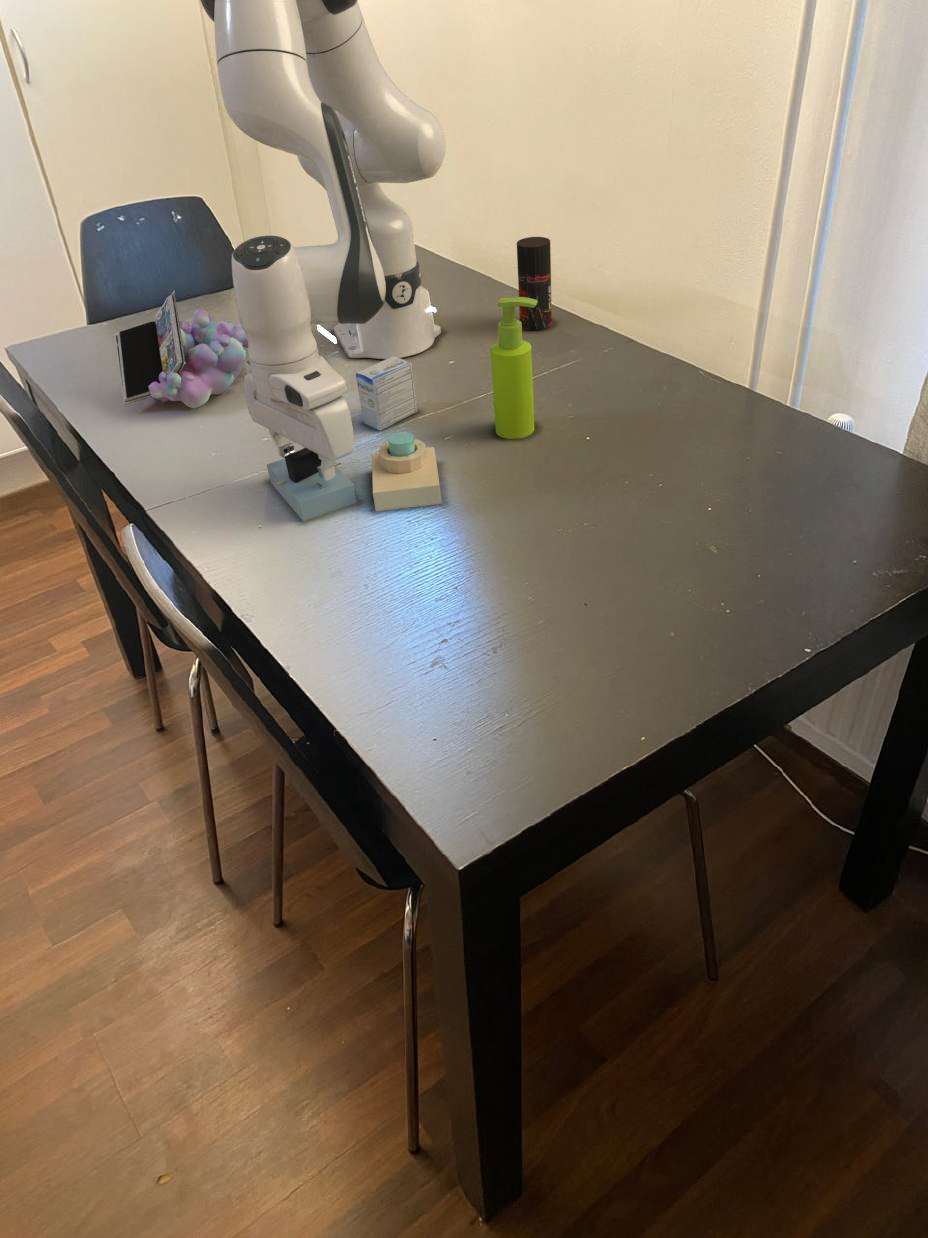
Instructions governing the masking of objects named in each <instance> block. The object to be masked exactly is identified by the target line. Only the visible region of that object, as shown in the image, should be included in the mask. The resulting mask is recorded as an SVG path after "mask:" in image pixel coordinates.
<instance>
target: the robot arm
mask: <svg viewBox="0 0 928 1238" xmlns="http://www.w3.org/2000/svg"><path fill="white" fill-rule="evenodd" d="M200 4H201V5H202V7H203V9H204V12H205V13H206V14H207V16H208V18H209V19H210V20H211V21H212V22H213V25H214V26H213V27H214V45H215V48H214V49H215V56H216V57H215V58H216V67H217V75H218V81H219V82H218V83H219V88H220V94H221V97H222V102H223V105H224V109H225V111H226V113H227V115H228V117H229V118H230V120H231V121H232V123H233V124H234V125H235V126H236V127H237V128H238V130H239V131H241V132H242V133H244V134H245V135H246V136H248V137H250V138H251V139H253V140H254V141H256V142H258V143H260V144H263V145H265V146H267V147H269V148H273V149H275V150H278V151H282V152H285V153H289V154H292V155H294V156H296V158H297V159H298V162H299V164H300V166H301V168H302V169H303V171H304V172H305V173H306V174H307V175H308V176H310V178H312V179H314V180H315V181H316V182H317V183H318V184H319V185H320V186H321V187H322V188H323V189H324V190H325V191H326V195H327V198H328V202H329V206H330V210H331V214H332V217H333V221H334V225H335V229H336V233H337V238H336V241H335V242H333V243H330V244H318V245H306V246H293V244H292V243H291V241H290V240H288V239H286V238H285V237H282V236H280V235H279V236H278V235H261V236H255V237H252V238H249V239H246V240H245V241H243V242H241V243H240V244H238V245H237V247H236V248H234V250H233V252H232V254H231V275H232V284H233V293H234V298H235V304H236V309H237V314H238V318H239V323H240V325H241V326H242V328H243V329H244V331H245V333H246V336H247V339H248V348H247V356H248V359H247V360H246V362H245V363H244V369H245V373H246V374H245V375H244V378H243V387H244V388H243V389H244V396H245V401H246V407H247V411H248V414H249V416H250V418H251V419H252V421H253V422H254V423H256V424H258V425H260V426H262V427H264V428H265V429H267V430H268V433H269V435H270V436H271V437H270V438H272V440H273V442H274V444H275V445H276V447H277V450H278V455H279V456H280V457H281V458H283V459H285V457H286V456H289V455H291V454H293V453H295V452H296V450H295V445H294V443H295V444H297V445H299V446H300V447H301V446H302V447H303V448H307V449H309V450H311V451H313V452H315V453H317V454H318V457H319V459H320V460H322V461H321V465H320V466H318V467H317V469H318V472H319V477H321V478H322V479H324V480H326V481H328V480H330V479H332V478H334V477H335V475H336V474H335V468H334V465H335V463H337V461H339V460H341V459H343V458H345V457H347V456H348V455H351V454H352V452H353V450H354V448H355V446H356V445H355V443H356V442H355V434H354V429H353V428H354V427H353V422H352V416H351V415H352V414H351V412H350V408H349V405H348V403H347V401H346V399H345V398H344V397H343V396H344V395H345V394H347V392H348V388H347V381H346V380H345V378H344V377H343V376H342V375H341V374H339V372H337V371H336V370H335V369H334V368H333V367H332V366H331V365H330V364H329V363H328V361H326V360H325V358H324V357H323V356H322V355H321V354H320V353H319V347H318V343H317V340H316V338H315V336H314V333H313V331H312V328H311V325H316V327H317V331H318V332H319V333H321V334H322V335H323V336H325V337H326V338H327V339H328V340H330V341H331V342H332V343H334V344H337V343H338V342H339V343H340V345H341V347H342V349H343V350H344V352H345V353H346V355H347V357H348V358H350V359H365V358H366V359H377V360H386V359H388V358H390V357H397V358H400V359H403V358H406V357H407V358H408V357H410V356H414V355H417V354H420V353H422V352H424V351H426V350H428V349H429V348H430V347H432V346H433V344H434V342H435V339H436V338H437V337H438V336H440V335H441V334H442V327H441V326H440V325H439V324H435V321H434V320H435V319H434V314H433V312H434V313H436V312H437V308H436V307H433V306H432V303H431V298H430V293H429V290H428V289H426V288H425V287H423V286H422V272H421V271H422V270H421V268H420V267H421V266H420V263H419V261H418V260H417V254H416V246H415V237H414V227H413V226H414V225H413V221H412V219H411V217H410V215H409V213H408V212H407V210H406V209H405V208H404V207H402V206H401V205H399V204H398V203H396V202H394V201H392V200H391V199H390V198H389V197H388V196H387V194H386V193H385V192H384V190H383V189H382V187H381V185H380V184H409V183H414V182H419V181H423V180H428V179H431V178H433V177H435V176H436V175H437V173H438V172H439V170H440V169H441V167H442V165H443V162H444V159H445V157H446V151H447V150H446V149H447V143H446V142H447V141H446V135H445V132H444V129H443V126H442V124H441V122H440V121H439V119H438V117H437V116H436V115H435V114H434V113H433V112H432V111H429V110H428V109H426V108H424V107H422V106H420V105H419V104H417V103H416V102H415V101H414V100H412V99H411V98H410V97H409V96H407V95H406V94H405V93H404V92H403V91H402V90H401V89H400V87H399V86H398V85H397V84H396V83H395V82H394V81H393V79H392V78H391V77H390V75H388V73H387V72H386V69H385V68H384V67H383V65H382V63H381V61H380V59H379V56H378V55H377V52H376V50H375V47H374V45H373V42H372V39H371V35H370V34H369V31H368V29H367V26H366V22H365V18H364V16H363V14H362V11H361V8H360V5H359V2H358V0H200ZM332 323H333V324H334V323H338V324H336V325H335V326H334V327H333V334H334V335H332V334H331V333H330V331H328V330H326V329H325V328H324V327H322V326H321V325H320V324H332ZM337 340H338V341H337ZM291 442H293V443H291Z"/></svg>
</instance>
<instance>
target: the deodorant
mask: <svg viewBox="0 0 928 1238" xmlns="http://www.w3.org/2000/svg"><path fill="white" fill-rule="evenodd" d="M551 253H552V252H551V239H549V238H548V237H545V236H529V237H528V236H527V237H524V238H521V239H519V240H517V241H516V259H517V282H518V283H517V285H518V297H526V298H531V299H535V300H538V302H537V304H536V306H535V307H534V308H531V307H525V306H518V307H519V310H518V311H519V321H521V323H522V330H525V331H532V332H537V331H543V330H547V329H549V328H551V326H552V325H553V312H552V311H553V309H552V308H553V305H552V304H553V303H552V260H551V258H552V255H551Z"/></svg>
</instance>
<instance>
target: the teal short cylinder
mask: <svg viewBox="0 0 928 1238" xmlns="http://www.w3.org/2000/svg"><path fill="white" fill-rule="evenodd" d="M414 439H415V436H414V434H412V433H411V432H409V431H399V432H395V433H392V434H390V435H389V436H388V438H387V442H388V445H389V452H390V455H391V456H396V457H403V456H408V455H411V454H413V453H414V452H415V443H414Z"/></svg>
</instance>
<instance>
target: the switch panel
mask: <svg viewBox="0 0 928 1238" xmlns="http://www.w3.org/2000/svg"><path fill="white" fill-rule="evenodd" d="M341 464H342V462H341V461H339V462H335V465H334V468H335V474H336V475H335V477H334V478H332V479H330V480H328V481H326V480H324V479H322V478H321V477H319V472H318V473H316V474H314V475H312V476H310V477H308V478H306V479H304V480H302V481H300V482H297V483H295V482H293V481H291V480H290V479H289V475H288V470H287V466H286V461H285V458H283V459H282V458H281V459H279V460H276V461H273V462H270V463H267V464H266V469H267V473H268V477H269V481H270V483H271V484H272V486H273V488H275V490H277V492H278V493H279V494H280V496H281V497H282V498H283V499H284V500H285V501H286V503H287V504H288V505H289V506H290V508H291V509H292V510H293V512H295V514H296V515H297V516H298V517H299V518H300V520H301V521H302V522H305V521H309V520H312V519H314V518H317V517H320V516H322V515H323V516H324V515H326V514H328V513H332V512H335V511H337V510H340V509H344V508H346V507H348V506H349V507H350V506H352V505H354V504H357V502H358V501H357V496H356V491H355V490H356V489H355V485H354V483H353V481H351V480H350V479H349V478H348V477H347V476H346V475H345V474H344V472H342V471H341V470H340V469H339V468H338V467H337V466H339V465H341Z"/></svg>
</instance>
